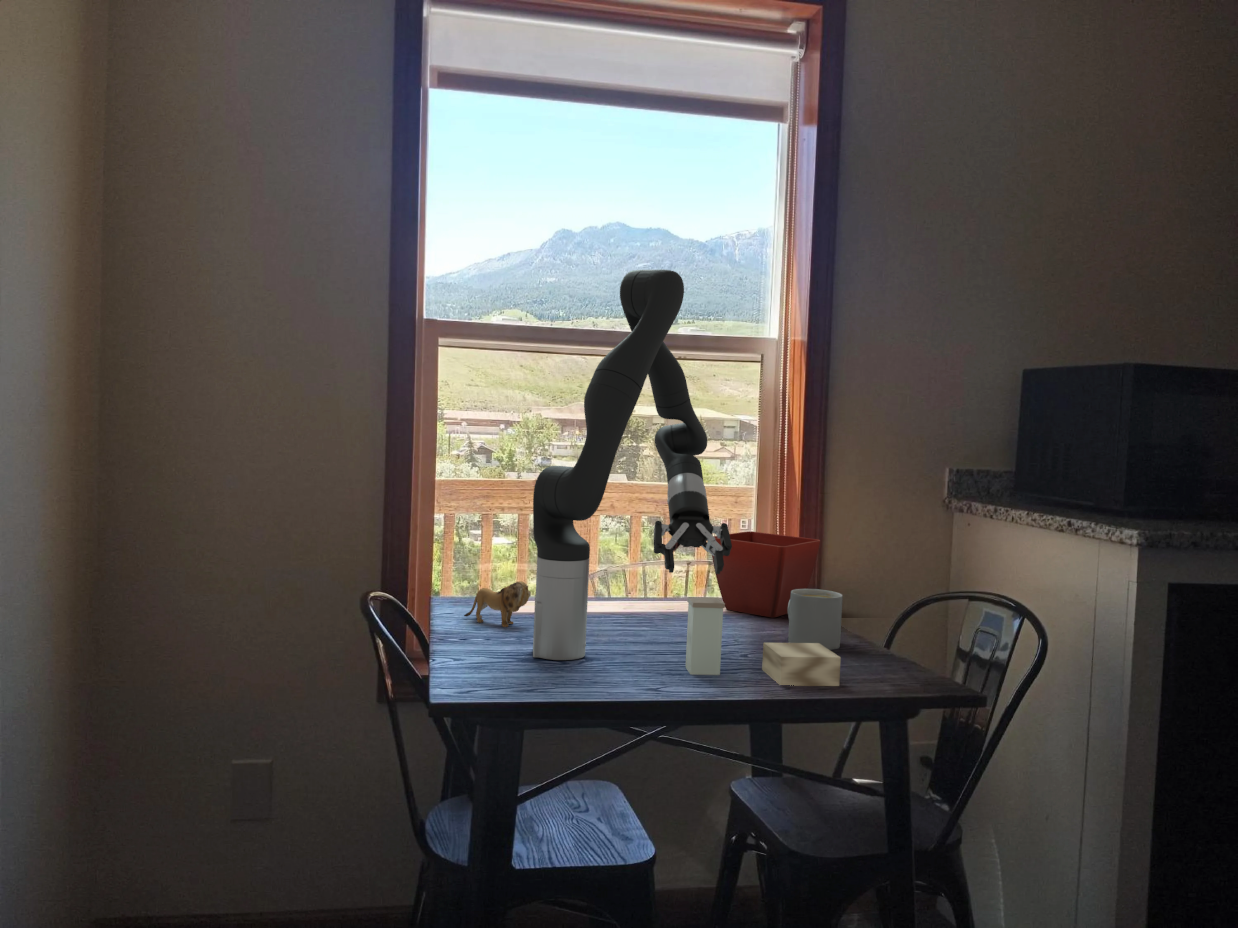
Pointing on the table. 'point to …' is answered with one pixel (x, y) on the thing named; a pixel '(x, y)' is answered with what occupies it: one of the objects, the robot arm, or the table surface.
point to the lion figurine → (502, 601)
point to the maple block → (801, 664)
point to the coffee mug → (815, 617)
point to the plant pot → (765, 571)
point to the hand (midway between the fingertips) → (695, 570)
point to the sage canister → (704, 635)
